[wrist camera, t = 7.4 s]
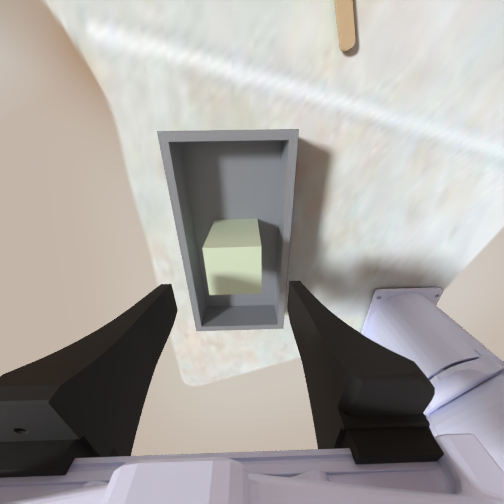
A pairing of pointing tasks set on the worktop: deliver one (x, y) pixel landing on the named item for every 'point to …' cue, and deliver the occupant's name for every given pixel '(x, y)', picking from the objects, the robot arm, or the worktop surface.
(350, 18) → the popsicle
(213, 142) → the bin
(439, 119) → the worktop surface
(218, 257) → the sage block
